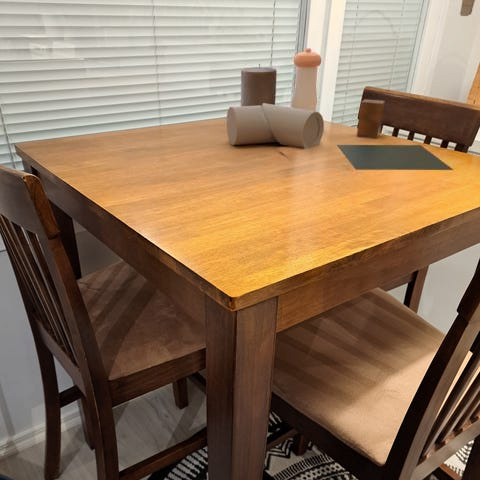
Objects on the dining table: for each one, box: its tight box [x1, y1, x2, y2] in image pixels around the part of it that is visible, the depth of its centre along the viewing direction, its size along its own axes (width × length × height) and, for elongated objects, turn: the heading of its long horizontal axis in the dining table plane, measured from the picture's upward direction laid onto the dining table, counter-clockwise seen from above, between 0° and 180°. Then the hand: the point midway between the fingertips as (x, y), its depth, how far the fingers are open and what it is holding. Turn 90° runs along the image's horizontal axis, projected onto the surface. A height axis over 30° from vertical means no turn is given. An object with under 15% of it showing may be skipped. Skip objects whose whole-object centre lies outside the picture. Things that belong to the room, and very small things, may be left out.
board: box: [336, 144, 454, 171], centre depth 108 cm, size 20×20×1 cm
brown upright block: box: [356, 98, 386, 140], centre depth 122 cm, size 5×4×9 cm
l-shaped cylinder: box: [226, 103, 325, 149], centre depth 116 cm, size 18×11×20 cm
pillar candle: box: [240, 63, 278, 106], centre depth 135 cm, size 10×10×15 cm
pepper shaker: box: [291, 47, 322, 112], centre depth 130 cm, size 7×7×19 cm
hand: (465, 15), depth 101 cm, fingers open, 8 cm apart
